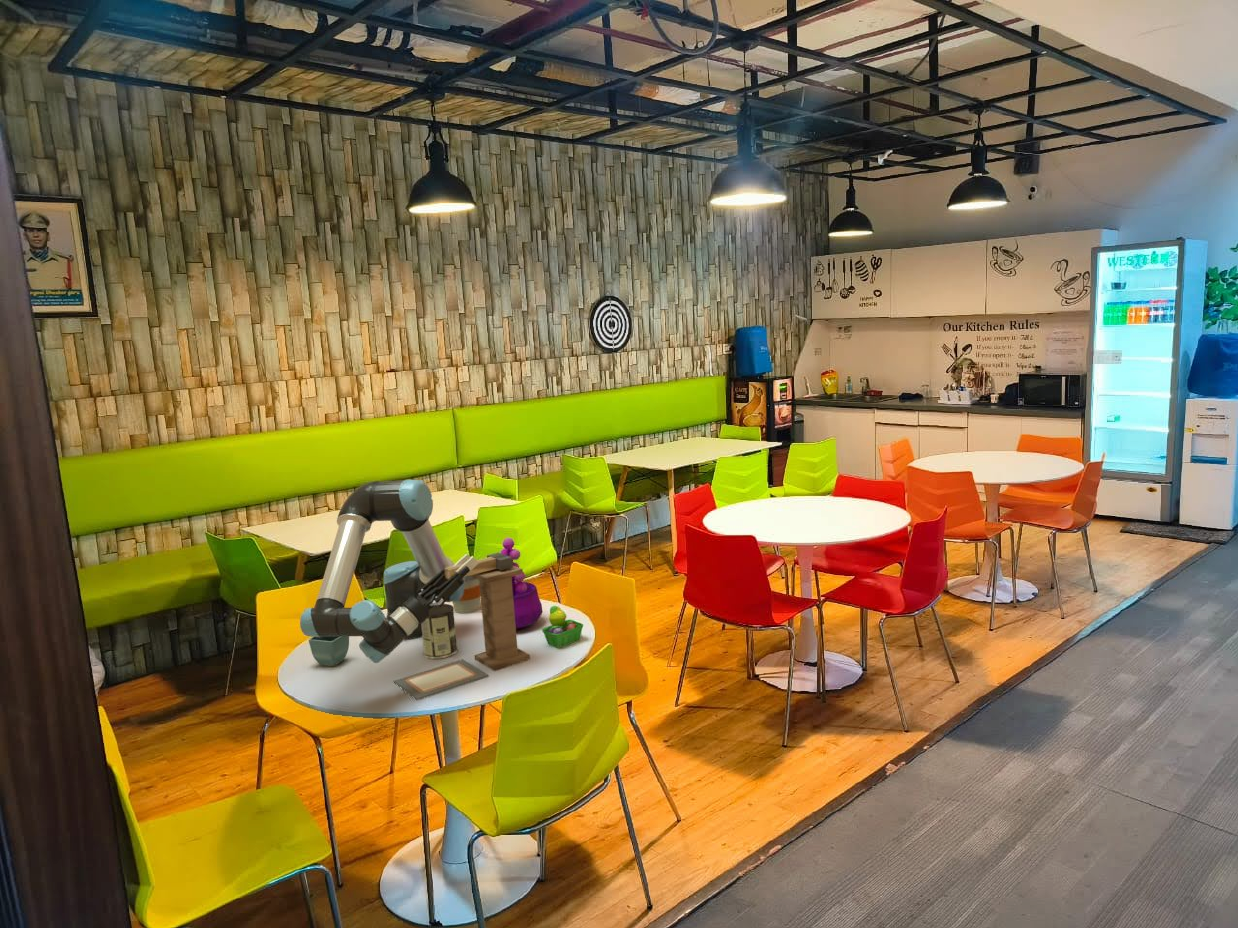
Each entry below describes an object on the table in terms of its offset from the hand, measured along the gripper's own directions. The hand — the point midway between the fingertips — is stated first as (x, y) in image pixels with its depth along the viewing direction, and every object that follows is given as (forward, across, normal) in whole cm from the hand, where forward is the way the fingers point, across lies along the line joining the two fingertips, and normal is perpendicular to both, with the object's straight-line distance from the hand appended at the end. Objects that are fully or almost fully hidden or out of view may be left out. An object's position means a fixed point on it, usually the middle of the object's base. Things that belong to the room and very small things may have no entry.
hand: (472, 558), depth 244 cm
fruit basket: (+7, +1, -43) cm, 43 cm away
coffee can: (-20, -19, -27) cm, 38 cm away
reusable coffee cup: (+1, -50, -39) cm, 63 cm away
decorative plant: (+5, -23, -41) cm, 47 cm away
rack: (-11, 0, -32) cm, 34 cm away
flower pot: (-45, -36, -12) cm, 59 cm away
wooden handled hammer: (-1, 0, -4) cm, 4 cm away
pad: (-28, 0, -22) cm, 35 cm away
